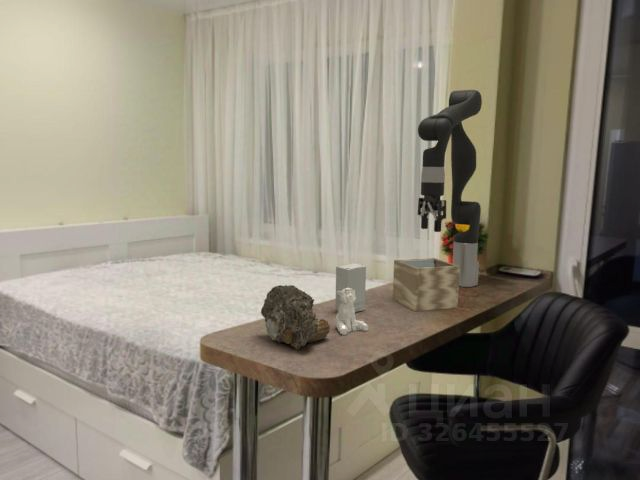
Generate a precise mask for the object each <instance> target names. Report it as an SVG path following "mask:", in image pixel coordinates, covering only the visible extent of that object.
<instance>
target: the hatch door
mask: <svg viewBox="0 0 640 480" xmlns="http://www.w3.org/2000/svg"><path fill="white" fill-rule="evenodd" d="M427 259H428V260H407V259H405V260H406V261H401V262H403V263H406V264H409V265H411V266H414V267H417V268H425V267H435V265H434V259H429V258H427Z"/></svg>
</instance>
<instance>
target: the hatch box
mask: <svg viewBox="0 0 640 480" xmlns="http://www.w3.org/2000/svg"><path fill="white" fill-rule="evenodd" d="M428 259H434V265H435V267H425V268H417V267H414V266H411V265H409V264H406V263H403V262H401V261H406V260H428ZM459 272H460V266H457V265H454V264H453V263H450V262H448V261H444V260H442V259H438V258H435V257H433V258H413V259H412V258H411V259H394V260H393V281H392V282H393V283H392V284H393V285H392V300H393V301H395V302H397V303H399V304H400V305H403V306H404V307H406V308H408V309H410V310H411V311H414V312H421V311H422V312H423V311H434V310H447V309H458V307H459V287H460V286H459Z"/></svg>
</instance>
